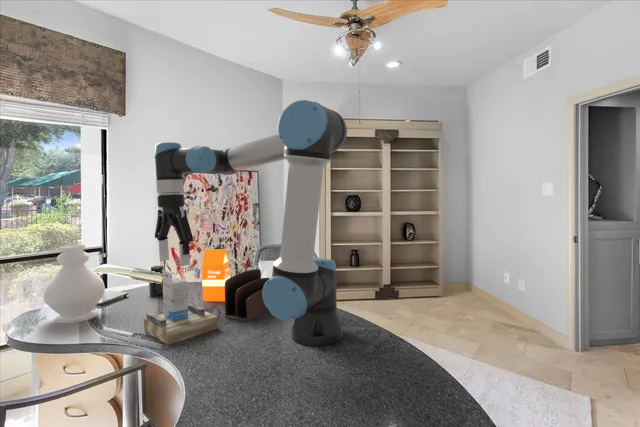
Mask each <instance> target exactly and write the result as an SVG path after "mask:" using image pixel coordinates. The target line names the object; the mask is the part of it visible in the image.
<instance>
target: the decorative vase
mask: <svg viewBox="0 0 640 427" xmlns="http://www.w3.org/2000/svg"><path fill="white" fill-rule="evenodd" d="M85 248H86V245H85V244H71V245H64V246H59V251H62V252H60V253H59V255H57V257H56V262H57V264H59V265H60V266H62V267H61V269H58V271H57V272H56V273H55V274H54V275H53V276H52V277H51V279H50V280H49V281H48V282H47V285H46V286H45V288H44V290H43V300H44V302H45V304H46V305H47V306H48V307H49V308H50V309H51V310H53V311H54V312H56V313H57V314H58V316H57V317H55V318H54V322H55V323H57V324H61V323H62V324H63V323H67V324H75V323H80V322H85V321H88V320H91V319H93V318H95V317H97V316H98V315H99V313H98V310H95V307H96V306H97V305H98V304H99V302H100V301H101V300H102V298H103V296H104V294H105V291H106V287H105V283H104V280H103V278H102V277H100V275H98V274H97V272H95V271H94V270H93V269H91V268H90V267H88V265H86V263H88V261H89V259H90V254H89V253H88V252H86V251H85V250H84V249H85ZM62 324H61V325H62ZM63 325H64V324H63Z"/></svg>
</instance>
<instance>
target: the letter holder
mask: <svg viewBox="0 0 640 427" xmlns="http://www.w3.org/2000/svg"><path fill="white" fill-rule="evenodd" d="M269 278H270V277H262V272H261V269H260V268H256V269H250V270H245V271H242V272H239V273H237V274H235V275H233V276H230V278H229V279H227V280H226V281H225V301H224V312H225V313H224V317H225V319H229V320H231V319H232V320H237V321H242V322H251V321H253V320H255V319H256V318H258V317H260V316H262V315H263V314H265V313H268V312H269V309H268V308H266V306H265V304H264V301H263V297H262V290H263V286H264V284H265V283H266V282H267V280H268V279H269Z"/></svg>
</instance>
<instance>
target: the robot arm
mask: <svg viewBox="0 0 640 427" xmlns="http://www.w3.org/2000/svg"><path fill="white" fill-rule="evenodd" d="M347 135H348V127H347V123H346V121H345V120H344V118H343V117H342V115H341V114H339V113H338V112H336V110H333V109H330V108H329V107H328V108H327V107H326V106H324V105H322V104H321V103H319V102H317V101H312V100H307V99H300V100H296V101H293V102H291V103H290V104H289V105H288V106H287V107H285V109H283V111H282V112H281V114H280V116H279V119H278V123H277V134H275V135H272V136H267V137H265V138H260V139H257V140H254V141H250V142H246V143H243V144H240V145H236V146H232V147H229V148H225V149H211V148H210V147H209V146H204V145H203V146H201V145H196V146H192V147H185V148H184V147H183V148H182V145H181V144H180V143H179V142H173V141H171V142H170V141H169V142H168V141H167V142H166V141H165V142H164V141H163V142H158V143H156V144H155V146H154V160H155V162H154V163H155V173H156V174H155V176H156V193H157V194H158V195H157V207H158V208H162V209H157V219H156V226H155V231H154V238H155V239H157V241H158V252H159V262H164V261H170V254H169V237H168V235H169V233H170V229H171V227H173V228H174V230H175V233H176V235H177V238H178V240H179V242H178V246H179V248H178V249H179V265H180V267H186V266H190V265H191V256H190V243H191V242H194V236H193V232H192V230H191V227H190V224H189V219H188V214H187V210H186V209H181V207H184V206H185V196H184V194H182V193H184V186H185V183H184V178H183V177H184V175H185V174H204V175H205V174H210V175H223V176H224V175H225V176H228V175H230V176H231V175H235V174H238V172H239V171H242V170H247V169H251V168H255V167H259V166H264V165H267V164H272V163H275V162H279V161H285V160H286V161H287V162H288V171H287V172H288V173H287V180H286V181H287V182H286V192H285V202H284V203H285V204H284V211H283V212H284V213H283V221H282V222H283V223H282V233H281V244H280V252H279V254H280V255H279V257H278V258H277V259H276V260H274V261H273V264H272V265H273V266H272V273H271V274H272V275H271V277H268V278H269V279H268V280H267V282H266V283H265V284H264V286H263V290H262V297H263V301H264V304H265V306H266V308H268V309H269V311H268V312H269V313H270V314H271V315H272V316H274V317H275V318H277V319H278V320H282V321H292V320H293V321H294V322H293V325H292V326H291V338H292V340H293V341H295V342H296V343H298V344H302V345H304V346H312V347H314V346H315V347H323V346H327V345H332V344H336V343H337V342H339V341H341V340H342V339H343V337H344V327H343V325H342V323H341V320H340V316H339V313H338V307H337V306H338V305H337V304H338V303H337V302H338V301H337V300H338V299H337V296H338V295H337V293H338V292H337V273H338V271H337V264H336V262H335V260H333V259H331V258H319V257H315V256H314V254H315V247H316V236H317V227H318V218H319V210H320V203H321V191H322V183H323V174H324V167H325V166H326V165H328V164H329V163H330V162H331V157H332V153H334V152H336V151H338V150H339V149H341V147H342V146H343V145H344V144H345V141H346V139H347Z"/></svg>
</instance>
